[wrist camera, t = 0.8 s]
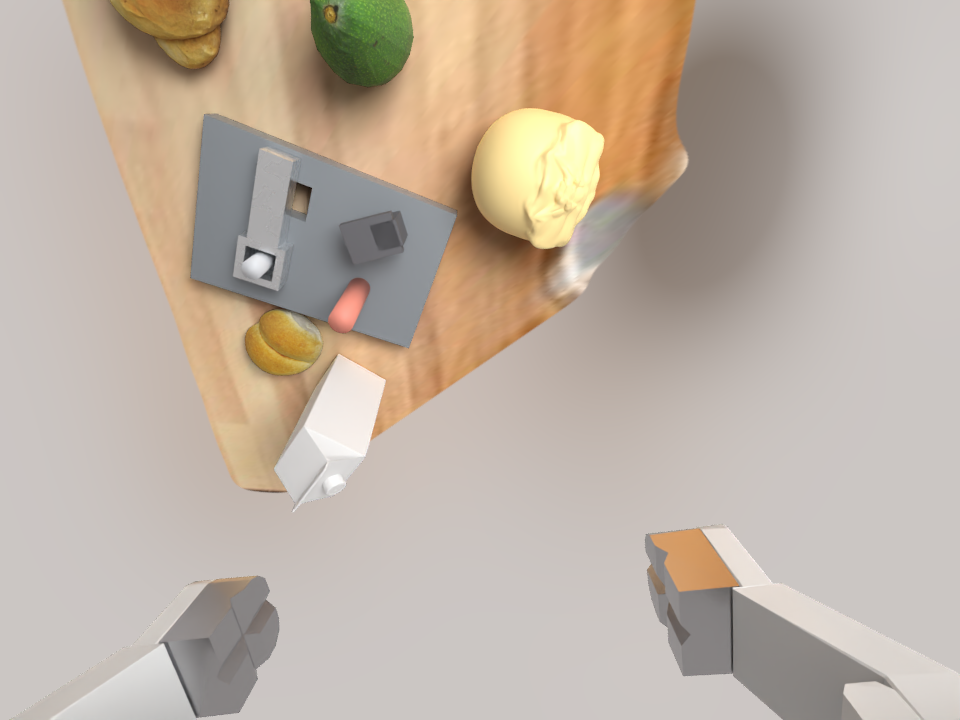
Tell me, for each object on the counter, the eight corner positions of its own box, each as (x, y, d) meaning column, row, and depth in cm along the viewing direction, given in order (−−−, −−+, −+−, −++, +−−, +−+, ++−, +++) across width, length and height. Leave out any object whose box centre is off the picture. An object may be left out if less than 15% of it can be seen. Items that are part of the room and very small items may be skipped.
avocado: (342, -37, 38) (298, -89, 28) (428, 10, 40) (417, -23, 29) (320, 65, 41) (273, 53, 31) (400, 104, 43) (381, 104, 33)
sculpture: (561, 237, 51) (584, 267, 41) (459, 210, 49) (459, 235, 39) (599, 128, 45) (636, 134, 36) (486, 93, 43) (494, 90, 34)
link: (286, 282, 49) (278, 291, 47) (243, 268, 48) (232, 276, 46) (309, 162, 43) (301, 165, 41) (260, 142, 42) (250, 145, 40)
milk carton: (313, 389, 60) (258, 498, 43) (339, 352, 57) (289, 453, 40) (360, 413, 62) (324, 526, 46) (386, 379, 59) (358, 485, 43)
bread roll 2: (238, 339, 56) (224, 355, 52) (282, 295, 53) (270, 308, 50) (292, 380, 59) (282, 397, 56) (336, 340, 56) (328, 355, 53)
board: (216, 113, 43) (177, 115, 37) (457, 210, 49) (456, 225, 43) (201, 270, 51) (167, 293, 45) (410, 338, 56) (404, 367, 50)
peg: (351, 274, 49) (331, 306, 41) (372, 282, 50) (356, 315, 42) (346, 293, 50) (325, 328, 42) (367, 300, 51) (350, 336, 43)
